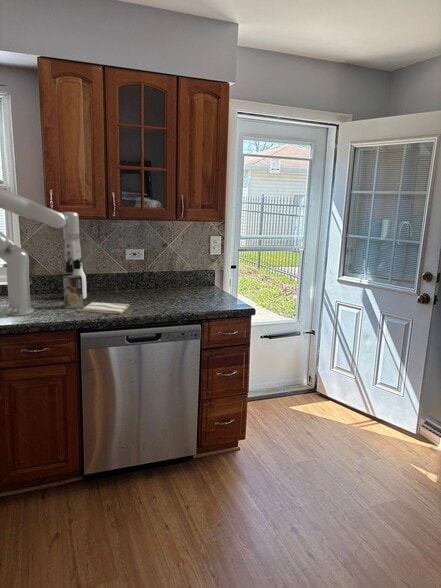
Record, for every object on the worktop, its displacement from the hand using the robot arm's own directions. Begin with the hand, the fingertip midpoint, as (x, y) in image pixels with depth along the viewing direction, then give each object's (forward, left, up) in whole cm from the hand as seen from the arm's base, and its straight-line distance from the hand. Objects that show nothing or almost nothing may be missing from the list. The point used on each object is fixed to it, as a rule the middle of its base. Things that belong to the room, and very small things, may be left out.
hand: (73, 270), depth 216 cm
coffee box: (0, 0, -19) cm, 19 cm away
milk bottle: (+18, +4, -19) cm, 27 cm away
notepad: (0, -17, -19) cm, 25 cm away
